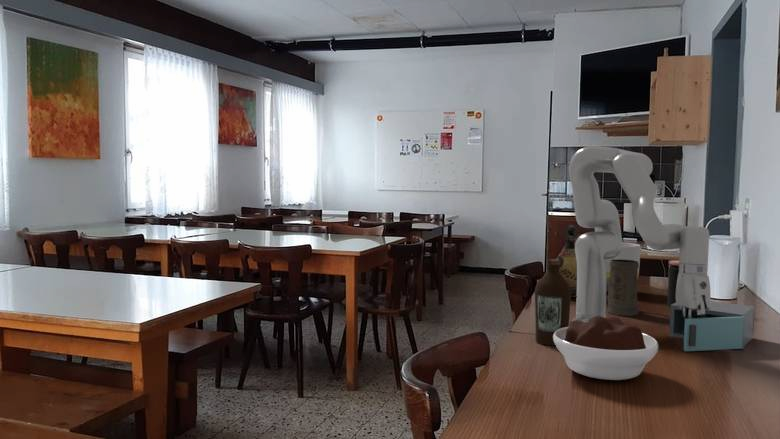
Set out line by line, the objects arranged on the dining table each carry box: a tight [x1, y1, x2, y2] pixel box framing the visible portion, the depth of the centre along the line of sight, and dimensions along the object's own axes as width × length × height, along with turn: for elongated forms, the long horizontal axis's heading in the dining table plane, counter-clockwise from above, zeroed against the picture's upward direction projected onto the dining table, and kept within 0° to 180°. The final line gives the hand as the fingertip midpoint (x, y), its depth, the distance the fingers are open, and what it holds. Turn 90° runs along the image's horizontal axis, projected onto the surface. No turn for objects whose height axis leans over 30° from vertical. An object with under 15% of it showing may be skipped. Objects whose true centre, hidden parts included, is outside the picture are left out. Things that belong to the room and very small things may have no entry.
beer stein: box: [606, 259, 640, 317], centre depth 225 cm, size 15×11×20 cm
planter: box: [604, 241, 641, 293], centre depth 264 cm, size 20×20×21 cm
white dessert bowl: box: [553, 315, 659, 381], centre depth 152 cm, size 25×25×15 cm
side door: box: [683, 316, 746, 352], centre depth 174 cm, size 2×19×9 cm, turn 100°
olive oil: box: [534, 258, 572, 346], centre depth 182 cm, size 11×11×25 cm
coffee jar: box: [667, 259, 679, 308], centre depth 232 cm, size 11×11×18 cm
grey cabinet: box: [668, 300, 755, 346], centre depth 190 cm, size 16×20×10 cm
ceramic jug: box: [555, 224, 579, 298], centre depth 256 cm, size 17×15×30 cm
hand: (690, 331), depth 177 cm, fingers closed
